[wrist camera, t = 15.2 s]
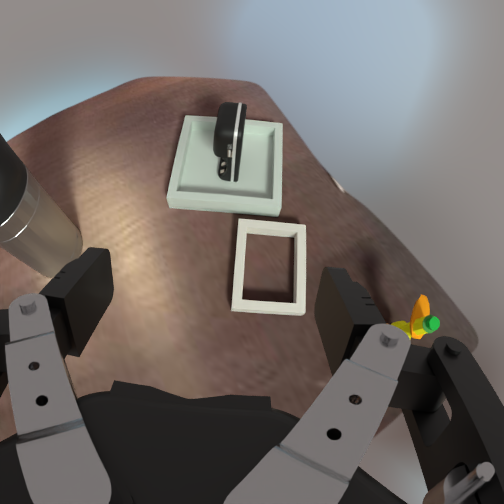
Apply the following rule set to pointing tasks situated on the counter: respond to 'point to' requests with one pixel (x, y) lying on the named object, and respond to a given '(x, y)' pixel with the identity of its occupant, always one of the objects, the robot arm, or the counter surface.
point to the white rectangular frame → (299, 267)
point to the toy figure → (419, 320)
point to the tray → (207, 165)
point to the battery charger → (229, 139)
